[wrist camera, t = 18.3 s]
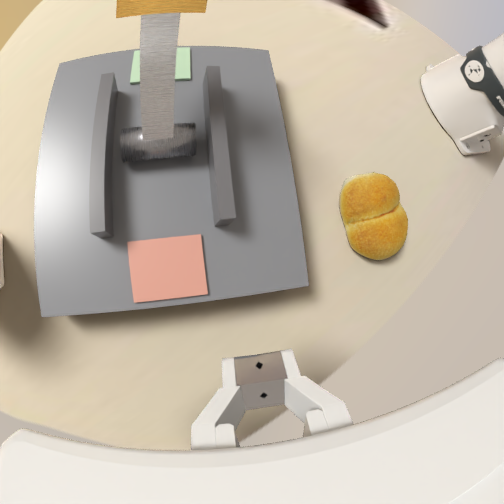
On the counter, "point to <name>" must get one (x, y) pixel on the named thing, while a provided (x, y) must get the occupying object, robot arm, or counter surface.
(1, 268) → the jar
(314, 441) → the robot arm
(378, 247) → the bread roll
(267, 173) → the switch panel
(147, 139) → the breaker lever
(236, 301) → the counter surface
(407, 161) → the counter surface
